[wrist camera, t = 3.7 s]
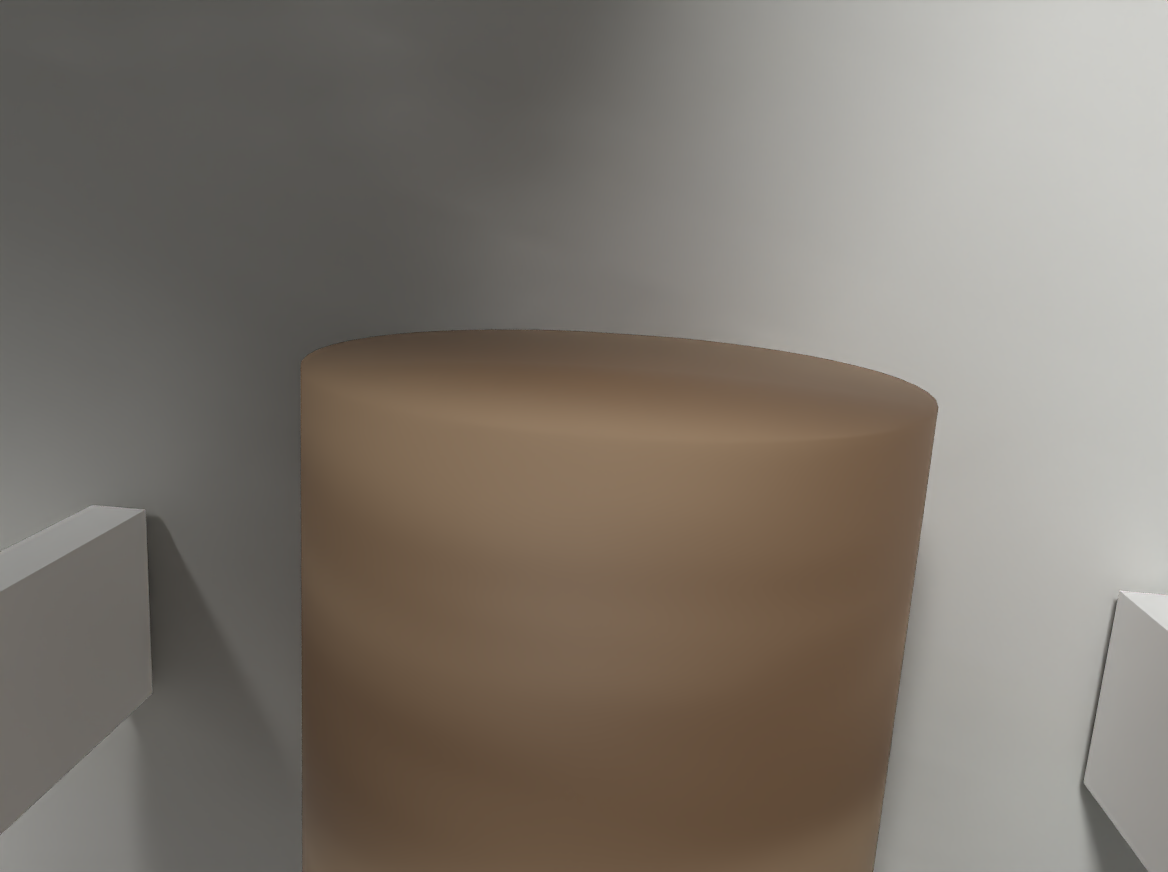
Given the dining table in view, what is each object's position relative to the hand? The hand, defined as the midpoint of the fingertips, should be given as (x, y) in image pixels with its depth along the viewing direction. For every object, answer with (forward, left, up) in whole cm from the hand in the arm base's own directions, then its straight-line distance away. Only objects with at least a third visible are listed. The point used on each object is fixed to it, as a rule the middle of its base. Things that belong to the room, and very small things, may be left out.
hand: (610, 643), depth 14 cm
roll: (0, 0, +3) cm, 3 cm away
